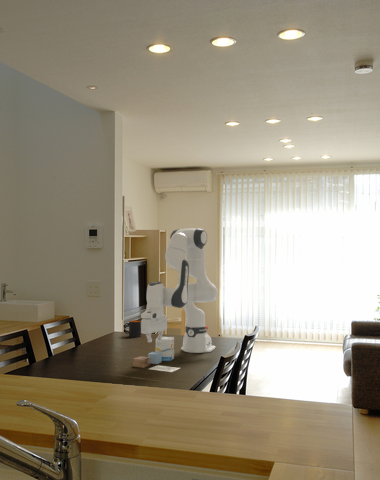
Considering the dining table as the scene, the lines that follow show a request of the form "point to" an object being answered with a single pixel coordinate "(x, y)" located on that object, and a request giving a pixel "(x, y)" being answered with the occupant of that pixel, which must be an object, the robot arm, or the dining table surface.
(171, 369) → the letter
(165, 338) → the ink box
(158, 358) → the cube
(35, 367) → the dining table surface
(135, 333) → the mug
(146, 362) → the walnut block
